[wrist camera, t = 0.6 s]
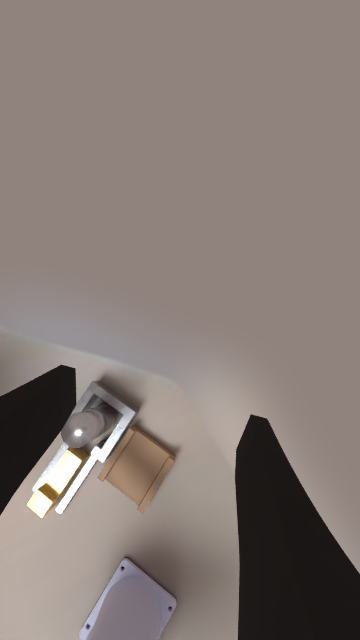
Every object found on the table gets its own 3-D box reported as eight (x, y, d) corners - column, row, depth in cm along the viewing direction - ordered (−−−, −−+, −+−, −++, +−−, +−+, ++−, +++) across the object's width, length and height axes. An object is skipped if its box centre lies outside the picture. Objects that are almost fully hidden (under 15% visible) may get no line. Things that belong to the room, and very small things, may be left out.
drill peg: (106, 436, 35) (79, 455, 27) (86, 421, 35) (54, 435, 27) (121, 413, 35) (99, 425, 27) (101, 399, 36) (74, 406, 28)
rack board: (145, 504, 33) (142, 513, 31) (103, 471, 34) (97, 477, 32) (175, 455, 34) (174, 461, 32) (133, 425, 35) (129, 428, 33)
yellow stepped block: (57, 503, 33) (41, 517, 30) (43, 491, 34) (26, 505, 30) (89, 455, 34) (77, 464, 31) (75, 444, 35) (62, 452, 31)
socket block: (70, 516, 33) (60, 527, 30) (29, 482, 34) (16, 490, 32) (139, 410, 35) (135, 412, 33) (99, 381, 37) (92, 381, 34)
